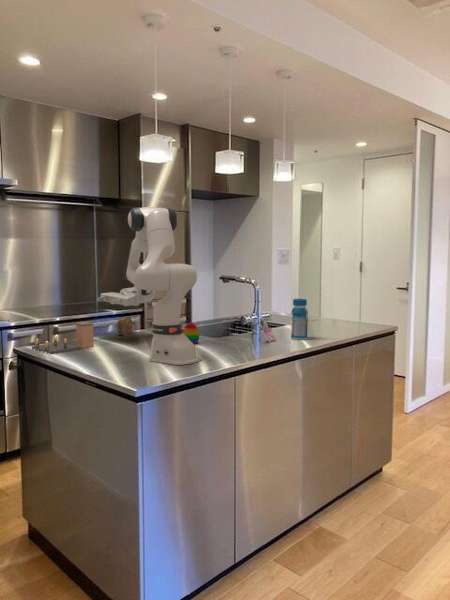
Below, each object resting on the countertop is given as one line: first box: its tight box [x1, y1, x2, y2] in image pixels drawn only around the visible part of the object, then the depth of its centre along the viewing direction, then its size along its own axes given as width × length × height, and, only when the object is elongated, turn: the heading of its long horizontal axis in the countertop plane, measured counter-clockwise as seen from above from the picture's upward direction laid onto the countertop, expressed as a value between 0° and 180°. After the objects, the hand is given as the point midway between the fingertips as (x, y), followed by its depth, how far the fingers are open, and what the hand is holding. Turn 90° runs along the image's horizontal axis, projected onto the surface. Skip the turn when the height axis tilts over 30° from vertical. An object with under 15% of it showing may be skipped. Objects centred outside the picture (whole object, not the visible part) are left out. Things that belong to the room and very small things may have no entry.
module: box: [75, 321, 95, 350], centre depth 223 cm, size 6×6×11 cm
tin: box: [116, 317, 133, 336], centre depth 259 cm, size 15×3×8 cm, turn 168°
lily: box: [258, 320, 278, 344], centre depth 236 cm, size 12×12×10 cm
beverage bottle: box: [290, 298, 309, 341], centre depth 242 cm, size 8×8×20 cm
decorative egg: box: [183, 322, 200, 345], centre depth 231 cm, size 8×8×10 cm
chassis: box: [31, 335, 81, 355], centre depth 218 cm, size 17×14×5 cm
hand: (104, 300), depth 230 cm, fingers open, 8 cm apart
